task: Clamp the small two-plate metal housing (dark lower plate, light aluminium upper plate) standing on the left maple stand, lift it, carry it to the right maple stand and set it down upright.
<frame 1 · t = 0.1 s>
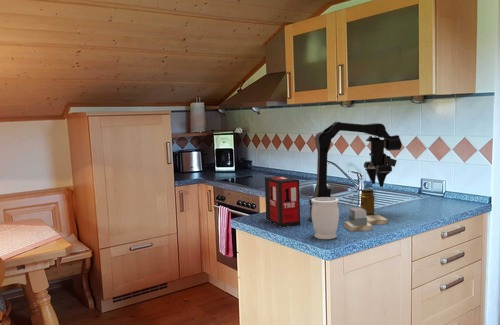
hand: (377, 185, 201), 15 cm above the countertop, tool pointing down, fingers open, 9 cm apart
stand a: (357, 228, 184), on the countertop
stand b: (373, 222, 193), on the countertop
condiment: (369, 215, 207), on the countertop
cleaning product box: (282, 223, 198), on the countertop
housing: (357, 223, 184), point 2 cm above the countertop, touching stand a
jar: (325, 237, 173), on the countertop
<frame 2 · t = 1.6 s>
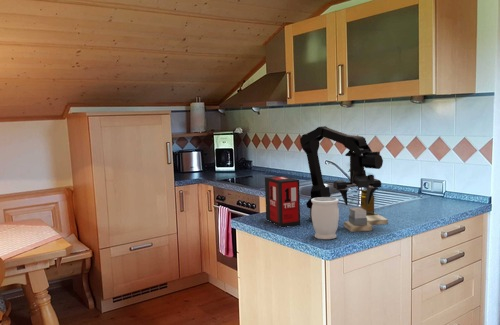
hand: (357, 204, 183), 10 cm above the countertop, tool pointing down, fingers open, 9 cm apart
nothing on the countertop moved.
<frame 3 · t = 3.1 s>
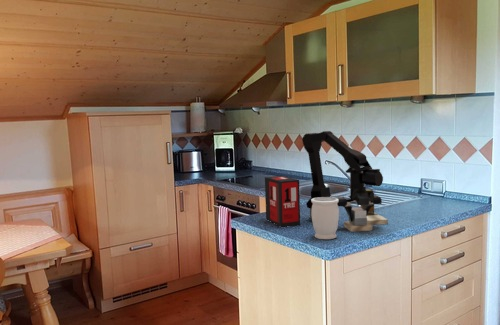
hand: (357, 221, 183), 3 cm above the countertop, tool pointing down, fingers closed on housing, 5 cm apart
housing: (357, 223, 184), point 2 cm above the countertop, touching gripper, stand a
everything else where it was.
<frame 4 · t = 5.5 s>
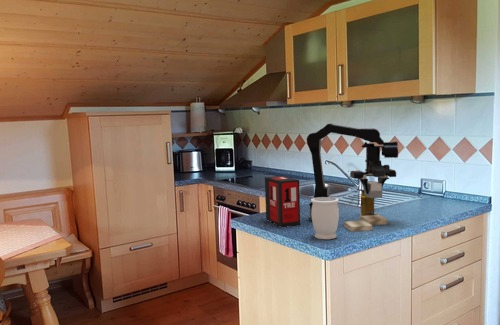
hand: (373, 193, 191), 13 cm above the countertop, tool pointing down, fingers closed on housing, 5 cm apart
housing: (373, 196, 191), point 12 cm above the countertop, touching gripper
everything else where it was.
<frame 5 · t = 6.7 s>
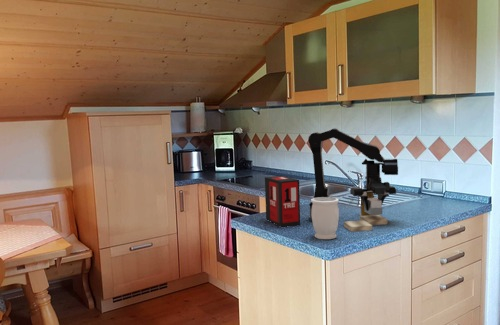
hand: (373, 210, 192), 5 cm above the countertop, tool pointing down, fingers closed on housing, 5 cm apart
housing: (373, 212, 192), point 4 cm above the countertop, touching gripper
everything else where it was.
when the fingers open (4 cm above the countertop, at t = 7.7 s): housing drops 1 cm, resting on stand b.
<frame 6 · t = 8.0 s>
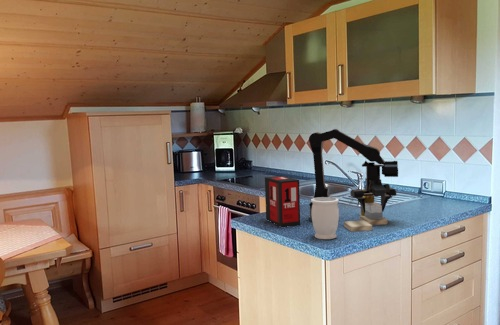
hand: (373, 212, 192), 4 cm above the countertop, tool pointing down, fingers open, 8 cm apart
housing: (373, 217, 192), point 2 cm above the countertop, touching stand b
everything else where it was.
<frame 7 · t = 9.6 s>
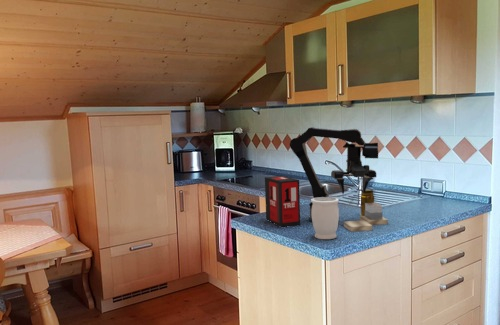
hand: (353, 193, 194), 13 cm above the countertop, tool pointing down, fingers open, 9 cm apart
nothing on the countertop moved.
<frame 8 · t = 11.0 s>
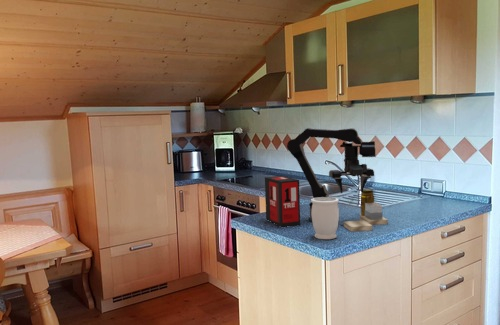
hand: (351, 192, 194), 13 cm above the countertop, tool pointing down, fingers open, 9 cm apart
nothing on the countertop moved.
at the end: housing 0.1 cm off-centre on the stand b, point 2.0 cm above the stand b's base; housing tilted 0°; the gripper is holding nothing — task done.
